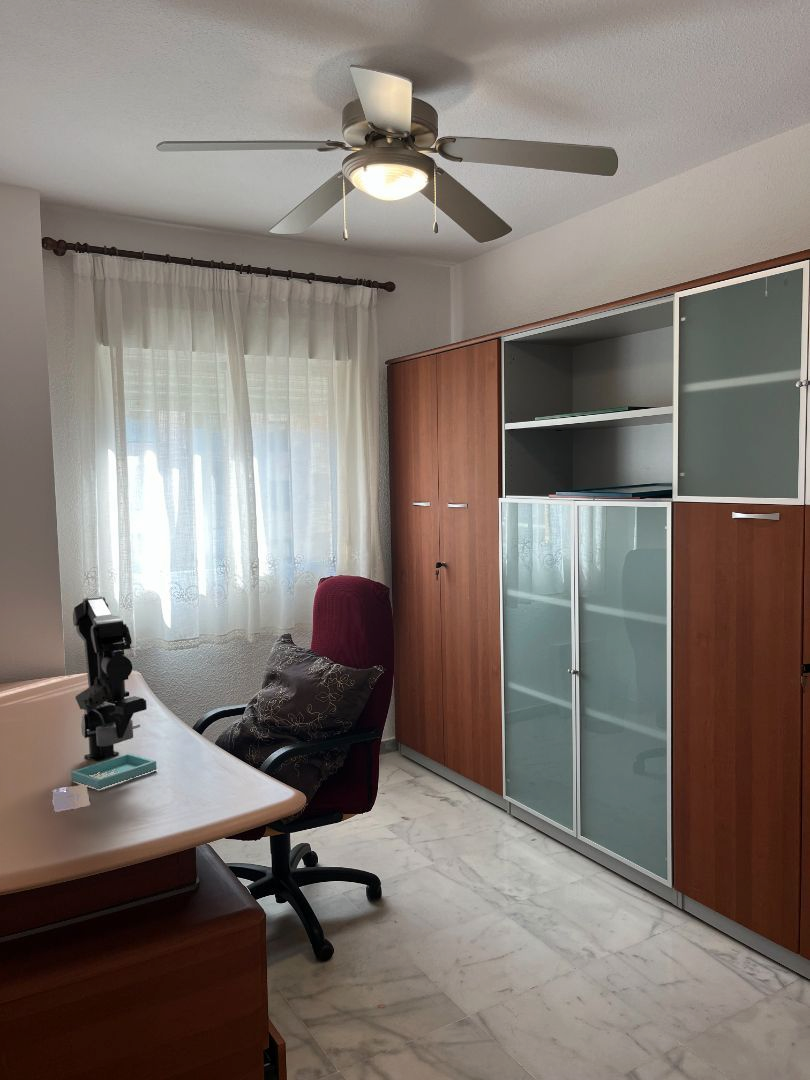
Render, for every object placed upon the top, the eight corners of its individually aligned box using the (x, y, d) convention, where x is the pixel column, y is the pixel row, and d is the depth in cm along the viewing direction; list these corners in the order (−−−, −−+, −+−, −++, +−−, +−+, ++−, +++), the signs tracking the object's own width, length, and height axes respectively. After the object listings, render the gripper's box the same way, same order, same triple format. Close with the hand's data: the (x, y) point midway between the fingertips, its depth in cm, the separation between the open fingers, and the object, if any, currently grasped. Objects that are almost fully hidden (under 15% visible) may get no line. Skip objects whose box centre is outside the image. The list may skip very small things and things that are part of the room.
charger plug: (103, 747, 184) (102, 730, 183) (93, 744, 186) (92, 727, 186) (143, 734, 192) (142, 718, 192) (134, 731, 195) (133, 715, 194)
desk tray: (71, 782, 188) (71, 771, 188) (129, 762, 201) (128, 753, 201) (98, 791, 181) (98, 780, 181) (156, 771, 194) (156, 761, 194)
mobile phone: (53, 810, 170) (51, 788, 183) (53, 814, 170) (51, 792, 183) (91, 803, 173) (86, 782, 186) (91, 807, 173) (86, 786, 186)
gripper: (58, 674, 186) (62, 739, 187) (103, 685, 175) (107, 753, 176) (100, 664, 195) (104, 726, 196) (146, 674, 184) (149, 739, 185)
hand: (115, 736), depth 188 cm, fingers closed on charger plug, 4 cm apart
